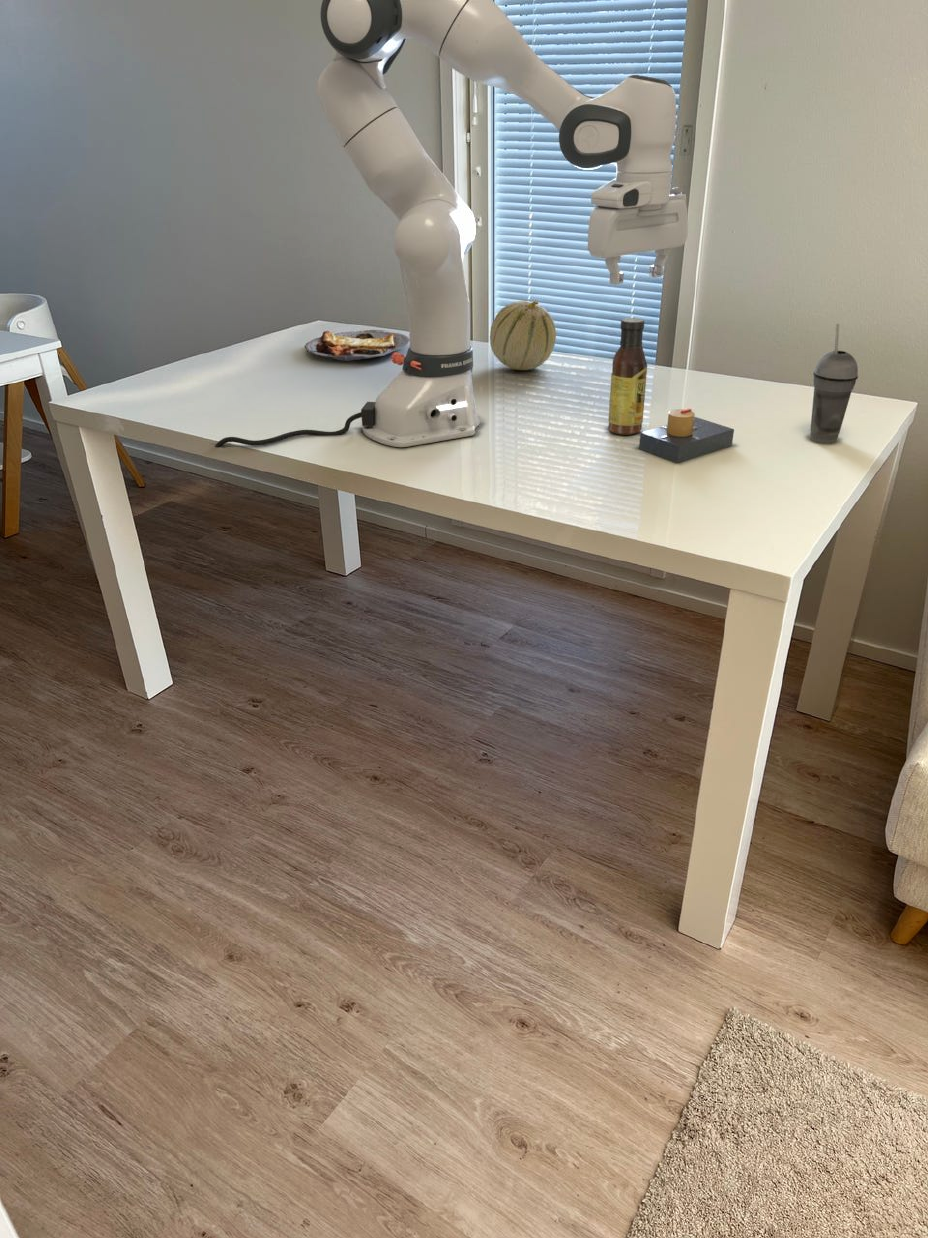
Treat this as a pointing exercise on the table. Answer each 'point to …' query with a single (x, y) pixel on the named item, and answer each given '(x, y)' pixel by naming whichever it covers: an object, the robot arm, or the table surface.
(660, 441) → the grey dial panel
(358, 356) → the food plate
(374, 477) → the table surface
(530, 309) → the cantaloupe
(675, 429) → the tan cylinder
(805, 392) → the table surface
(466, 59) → the robot arm
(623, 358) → the sauce bottle
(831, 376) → the beverage cup
